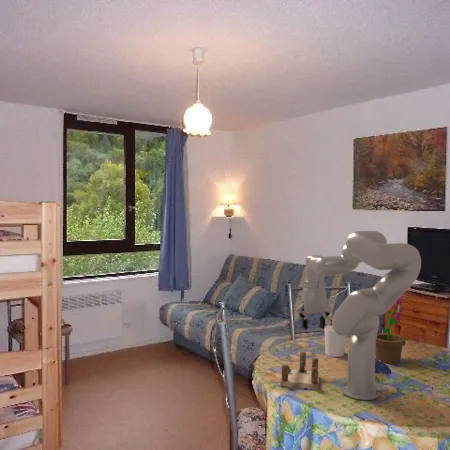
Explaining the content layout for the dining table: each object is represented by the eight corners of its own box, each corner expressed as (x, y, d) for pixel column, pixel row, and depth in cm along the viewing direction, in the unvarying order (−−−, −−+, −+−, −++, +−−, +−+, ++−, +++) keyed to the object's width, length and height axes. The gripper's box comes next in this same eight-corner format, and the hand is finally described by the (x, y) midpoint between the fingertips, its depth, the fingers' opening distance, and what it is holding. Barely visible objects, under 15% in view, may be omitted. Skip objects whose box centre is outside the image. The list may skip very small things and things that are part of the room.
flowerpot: (399, 368, 200) (401, 297, 198) (366, 361, 208) (368, 293, 207) (409, 359, 211) (411, 293, 210) (377, 353, 220) (379, 289, 219)
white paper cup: (321, 355, 215) (321, 329, 215) (327, 349, 224) (327, 324, 223) (342, 359, 211) (343, 332, 210) (347, 353, 219) (348, 327, 219)
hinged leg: (305, 372, 187) (305, 358, 187) (298, 371, 187) (299, 357, 187) (305, 365, 195) (306, 352, 195) (299, 364, 195) (300, 351, 195)
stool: (318, 376, 188) (319, 357, 188) (318, 389, 175) (318, 369, 174) (283, 373, 191) (283, 355, 191) (280, 386, 177) (280, 366, 177)
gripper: (330, 283, 199) (329, 325, 200) (291, 284, 195) (290, 327, 196) (338, 286, 192) (337, 329, 193) (298, 287, 188) (297, 331, 189)
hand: (313, 328), depth 194 cm, fingers open, 6 cm apart
